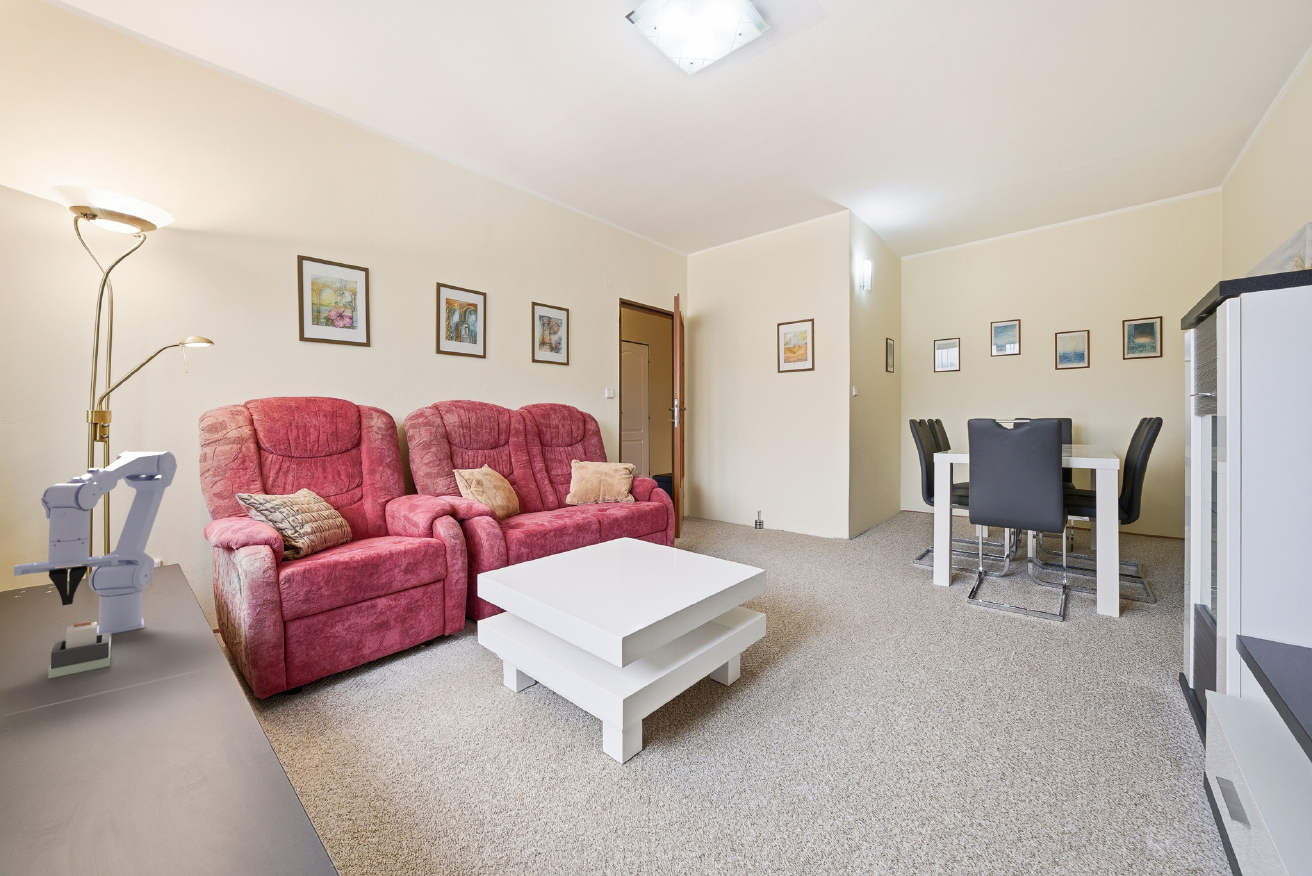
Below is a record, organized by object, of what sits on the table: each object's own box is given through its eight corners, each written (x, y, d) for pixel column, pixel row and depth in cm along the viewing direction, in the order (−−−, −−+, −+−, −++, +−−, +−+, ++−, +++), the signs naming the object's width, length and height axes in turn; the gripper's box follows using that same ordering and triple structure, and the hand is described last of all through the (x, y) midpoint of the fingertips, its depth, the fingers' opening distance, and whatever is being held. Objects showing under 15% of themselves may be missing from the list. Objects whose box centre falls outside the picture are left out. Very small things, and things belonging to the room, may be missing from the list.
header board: (57, 650, 111) (57, 629, 111) (111, 640, 117) (111, 620, 117) (48, 678, 97) (48, 654, 97) (109, 665, 103) (110, 643, 103)
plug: (67, 656, 104) (68, 623, 104) (96, 650, 107) (97, 619, 107) (65, 663, 101) (66, 629, 101) (95, 657, 103) (96, 624, 104)
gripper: (12, 546, 102) (10, 615, 102) (118, 537, 112) (116, 600, 112) (17, 542, 107) (15, 608, 107) (118, 534, 117) (116, 594, 117)
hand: (67, 603), depth 110 cm, fingers closed
